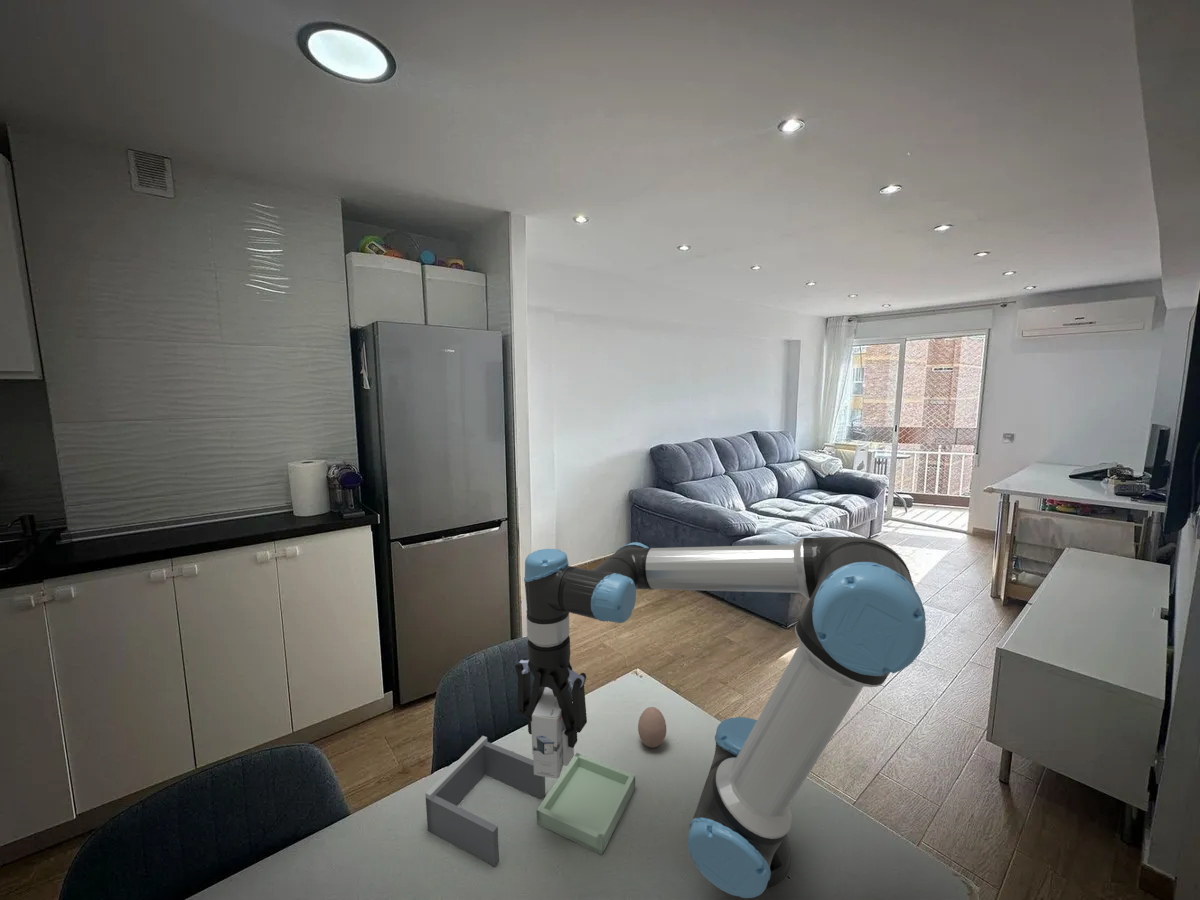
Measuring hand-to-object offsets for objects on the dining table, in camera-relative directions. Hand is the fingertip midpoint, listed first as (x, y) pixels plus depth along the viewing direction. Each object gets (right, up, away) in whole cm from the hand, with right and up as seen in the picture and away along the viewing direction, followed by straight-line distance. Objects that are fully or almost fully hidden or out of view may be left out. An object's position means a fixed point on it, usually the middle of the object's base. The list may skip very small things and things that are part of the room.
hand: (553, 754), depth 88 cm
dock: (-13, -16, +7) cm, 22 cm away
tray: (+6, -15, +8) cm, 19 cm away
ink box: (0, -1, 0) cm, 1 cm away
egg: (+21, -13, +24) cm, 35 cm away
